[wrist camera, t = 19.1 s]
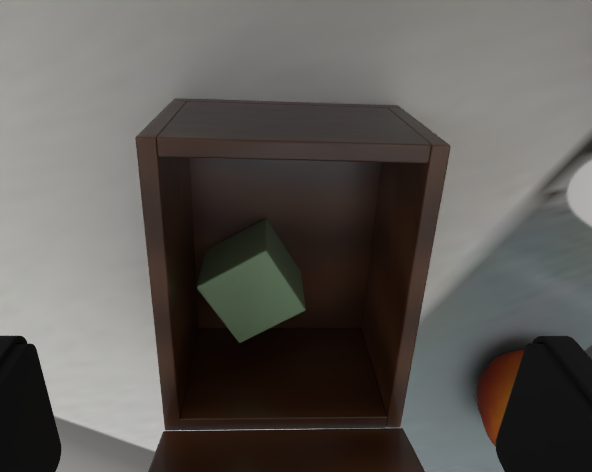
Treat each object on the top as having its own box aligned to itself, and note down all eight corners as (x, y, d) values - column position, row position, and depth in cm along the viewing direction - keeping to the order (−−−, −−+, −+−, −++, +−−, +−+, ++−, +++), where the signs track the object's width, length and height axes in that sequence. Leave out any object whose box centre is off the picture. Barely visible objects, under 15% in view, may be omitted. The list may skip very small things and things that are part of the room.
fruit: (435, 428, 37) (509, 471, 29) (466, 328, 38) (545, 344, 30) (519, 457, 39) (610, 505, 31) (546, 361, 40) (639, 384, 32)
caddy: (174, 98, 27) (134, 136, 19) (398, 105, 28) (451, 145, 20) (189, 330, 33) (164, 430, 25) (369, 330, 34) (400, 428, 26)
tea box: (266, 250, 25) (195, 287, 26) (306, 310, 27) (239, 344, 28) (266, 217, 29) (205, 250, 30) (301, 271, 31) (242, 301, 32)
